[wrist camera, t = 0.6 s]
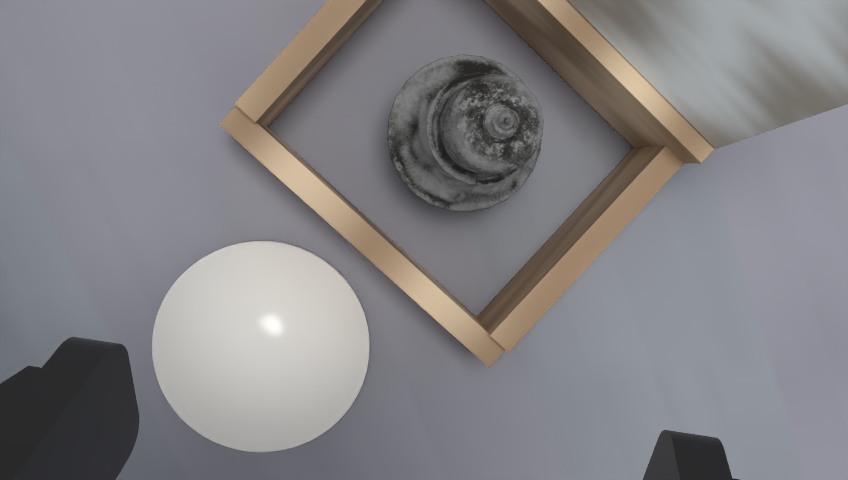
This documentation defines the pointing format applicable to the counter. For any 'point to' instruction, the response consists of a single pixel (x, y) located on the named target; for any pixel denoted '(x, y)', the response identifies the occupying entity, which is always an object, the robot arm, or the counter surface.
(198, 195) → the counter surface
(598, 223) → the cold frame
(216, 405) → the saucer
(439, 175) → the grey tall domed piece
